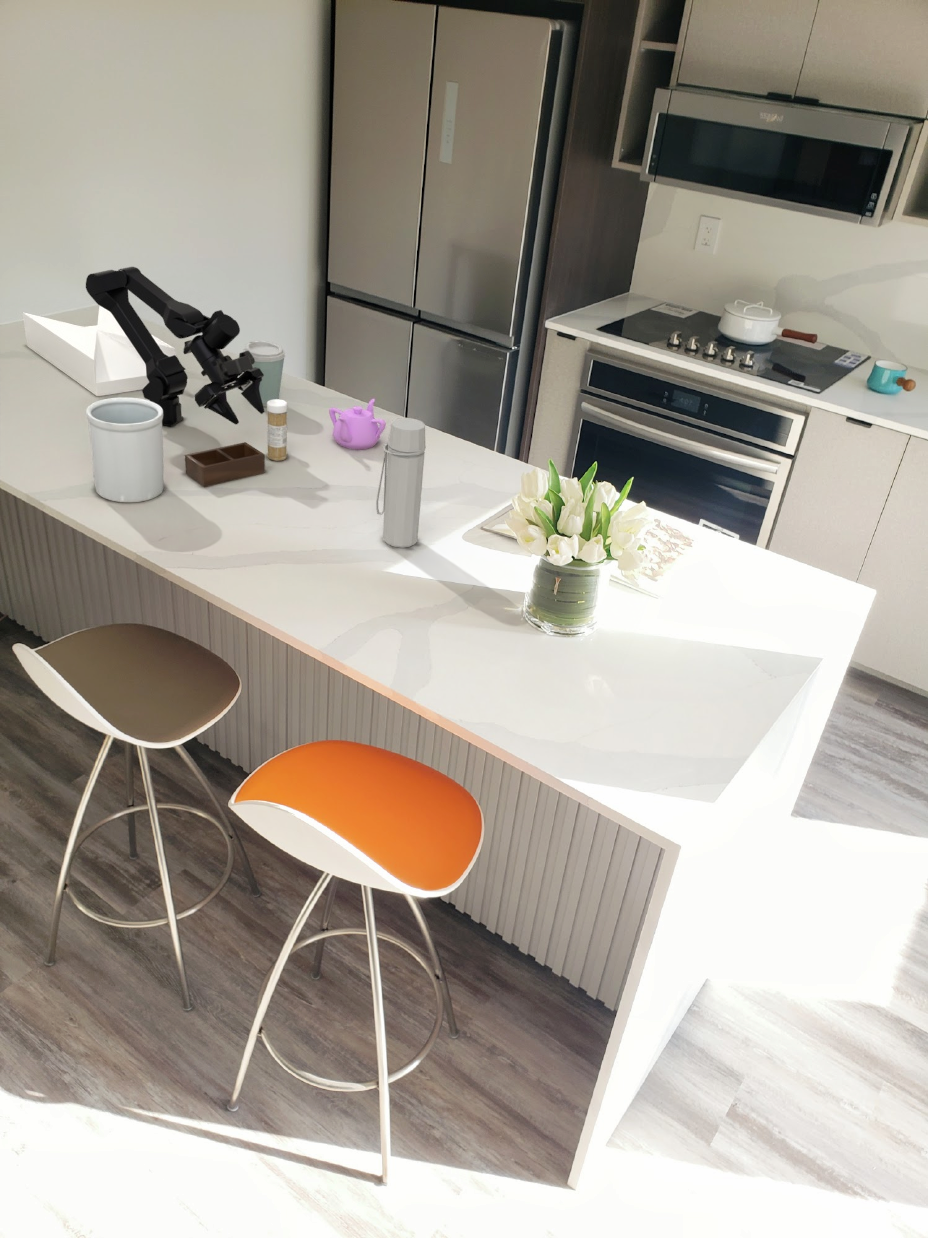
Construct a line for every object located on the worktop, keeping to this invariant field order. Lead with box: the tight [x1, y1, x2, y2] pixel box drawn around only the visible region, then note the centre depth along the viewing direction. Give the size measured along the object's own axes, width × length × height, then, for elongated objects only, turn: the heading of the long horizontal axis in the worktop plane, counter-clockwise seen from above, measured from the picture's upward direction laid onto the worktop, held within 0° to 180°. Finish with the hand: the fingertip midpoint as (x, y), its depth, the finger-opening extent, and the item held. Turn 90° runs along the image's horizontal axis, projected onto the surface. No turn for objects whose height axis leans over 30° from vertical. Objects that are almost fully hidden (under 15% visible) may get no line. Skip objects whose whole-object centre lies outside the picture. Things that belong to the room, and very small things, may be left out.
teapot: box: [328, 398, 387, 450], centre depth 245 cm, size 12×14×9 cm
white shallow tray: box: [22, 305, 177, 397], centre depth 274 cm, size 45×22×10 cm, turn 42°
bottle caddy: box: [184, 441, 266, 488], centre depth 223 cm, size 8×15×4 cm, turn 132°
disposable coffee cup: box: [242, 340, 286, 408], centre depth 260 cm, size 11×11×15 cm
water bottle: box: [375, 417, 427, 549], centre depth 198 cm, size 9×8×25 cm
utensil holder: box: [85, 397, 165, 503], centre depth 208 cm, size 15×15×18 cm
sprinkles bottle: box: [266, 398, 288, 462], centre depth 231 cm, size 5×5×14 cm
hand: (250, 418), depth 233 cm, fingers open, 9 cm apart
